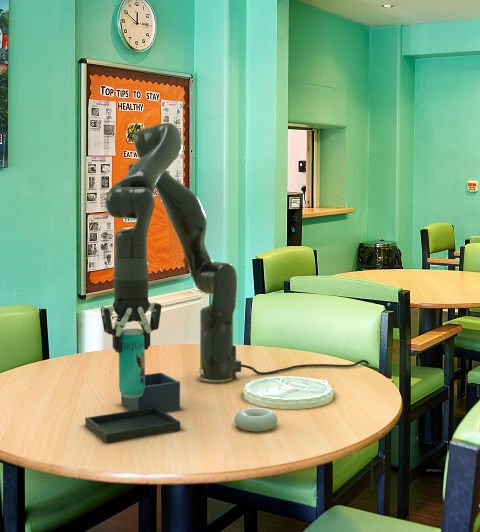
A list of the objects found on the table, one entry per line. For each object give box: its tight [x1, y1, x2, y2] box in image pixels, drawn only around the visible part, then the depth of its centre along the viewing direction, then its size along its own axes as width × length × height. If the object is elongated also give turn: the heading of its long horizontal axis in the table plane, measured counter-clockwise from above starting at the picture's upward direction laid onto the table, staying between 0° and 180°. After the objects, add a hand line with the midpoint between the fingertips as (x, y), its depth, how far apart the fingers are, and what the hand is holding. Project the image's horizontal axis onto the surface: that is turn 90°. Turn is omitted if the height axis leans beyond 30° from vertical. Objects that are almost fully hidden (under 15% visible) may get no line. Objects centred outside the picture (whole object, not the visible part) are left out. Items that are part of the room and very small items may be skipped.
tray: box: [84, 407, 181, 444], centre depth 186 cm, size 18×14×2 cm
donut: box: [233, 407, 278, 432], centre depth 188 cm, size 10×3×10 cm
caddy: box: [120, 372, 181, 413], centre depth 202 cm, size 11×11×7 cm
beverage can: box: [118, 328, 146, 398], centre depth 184 cm, size 6×6×15 cm
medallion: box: [243, 375, 334, 410], centre depth 215 cm, size 24×27×2 cm
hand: (131, 350), depth 184 cm, fingers closed on beverage can, 5 cm apart
